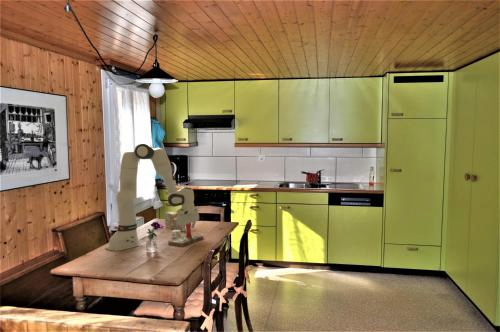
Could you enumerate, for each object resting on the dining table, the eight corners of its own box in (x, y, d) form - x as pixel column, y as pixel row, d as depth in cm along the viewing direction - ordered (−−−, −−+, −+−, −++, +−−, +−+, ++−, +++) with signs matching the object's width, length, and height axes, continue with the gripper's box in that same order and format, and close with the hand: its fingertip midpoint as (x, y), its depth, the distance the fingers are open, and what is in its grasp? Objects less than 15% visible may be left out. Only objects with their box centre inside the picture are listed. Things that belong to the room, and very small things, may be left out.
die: (176, 238, 281) (176, 231, 280) (171, 237, 283) (170, 230, 283) (181, 237, 285) (181, 230, 285) (176, 236, 288) (175, 229, 287)
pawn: (189, 238, 272) (188, 222, 271) (184, 237, 274) (183, 221, 273) (193, 237, 275) (192, 221, 275) (188, 236, 278) (187, 220, 277)
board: (181, 246, 260) (181, 243, 260) (168, 244, 266) (168, 241, 266) (203, 238, 279) (203, 235, 279) (190, 236, 286) (190, 233, 285)
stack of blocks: (185, 230, 305) (184, 214, 304) (178, 231, 301) (177, 216, 300) (171, 225, 322) (171, 211, 321) (165, 227, 318) (164, 212, 317)
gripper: (194, 207, 284) (194, 226, 285) (174, 212, 266) (175, 232, 268) (200, 208, 280) (201, 227, 282) (181, 213, 263) (182, 233, 264)
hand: (188, 229), depth 274 cm, fingers open, 8 cm apart
